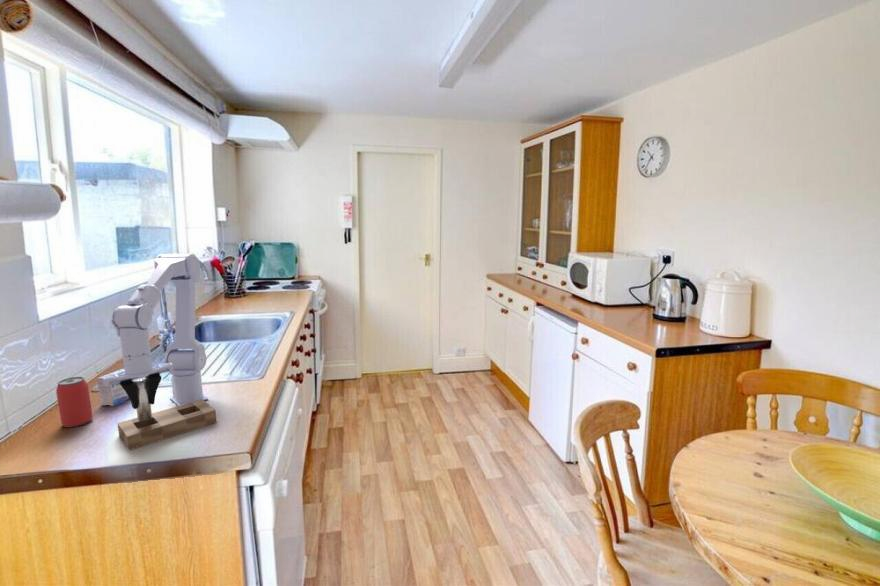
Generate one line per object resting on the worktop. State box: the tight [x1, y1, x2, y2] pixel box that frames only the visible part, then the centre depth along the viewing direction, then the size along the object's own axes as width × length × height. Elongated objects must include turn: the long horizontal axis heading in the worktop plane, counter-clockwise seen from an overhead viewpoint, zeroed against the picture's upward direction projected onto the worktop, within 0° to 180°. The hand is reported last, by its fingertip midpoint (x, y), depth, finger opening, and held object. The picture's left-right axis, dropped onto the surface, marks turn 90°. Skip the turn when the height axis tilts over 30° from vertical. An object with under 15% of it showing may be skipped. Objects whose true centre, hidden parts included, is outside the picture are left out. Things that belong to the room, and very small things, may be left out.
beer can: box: [55, 376, 94, 428], centre depth 120 cm, size 7×7×12 cm
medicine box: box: [96, 368, 135, 407], centre depth 134 cm, size 8×4×9 cm, turn 168°
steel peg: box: [133, 377, 153, 421], centre depth 112 cm, size 3×3×10 cm
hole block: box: [116, 400, 217, 451], centre depth 117 cm, size 10×20×4 cm, turn 136°
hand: (143, 405), depth 112 cm, fingers closed on steel peg, 3 cm apart
